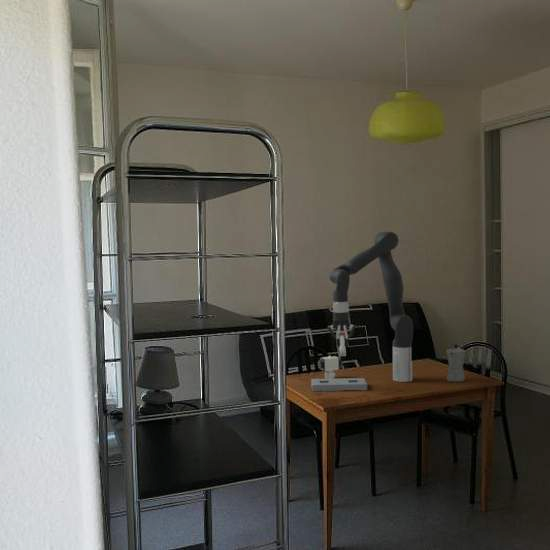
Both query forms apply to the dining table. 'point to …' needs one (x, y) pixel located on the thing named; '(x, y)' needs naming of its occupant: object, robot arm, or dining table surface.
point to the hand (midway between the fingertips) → (342, 346)
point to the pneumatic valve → (329, 365)
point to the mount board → (338, 384)
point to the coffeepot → (455, 364)
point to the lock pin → (342, 343)
